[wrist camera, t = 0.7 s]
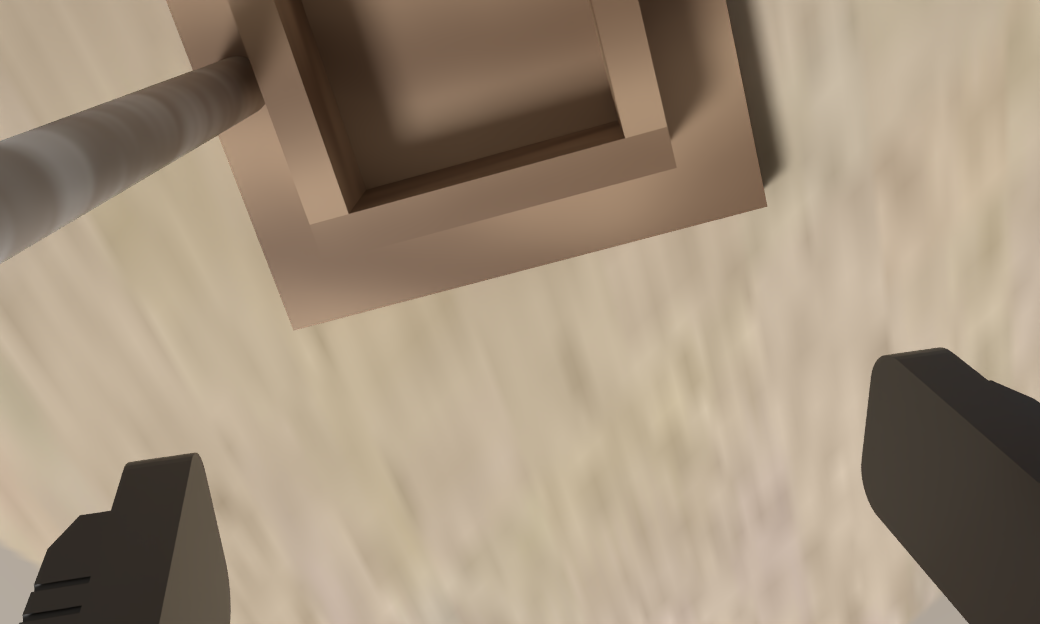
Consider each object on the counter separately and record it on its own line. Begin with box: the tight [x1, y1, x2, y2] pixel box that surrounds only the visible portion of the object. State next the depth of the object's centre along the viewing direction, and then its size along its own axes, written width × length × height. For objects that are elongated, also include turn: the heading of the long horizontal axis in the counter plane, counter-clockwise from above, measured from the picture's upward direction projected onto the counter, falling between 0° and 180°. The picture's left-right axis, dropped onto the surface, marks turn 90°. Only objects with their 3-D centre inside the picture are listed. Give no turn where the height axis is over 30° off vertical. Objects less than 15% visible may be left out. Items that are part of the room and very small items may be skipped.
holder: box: [0, 0, 767, 330], centre depth 23 cm, size 16×16×18 cm
